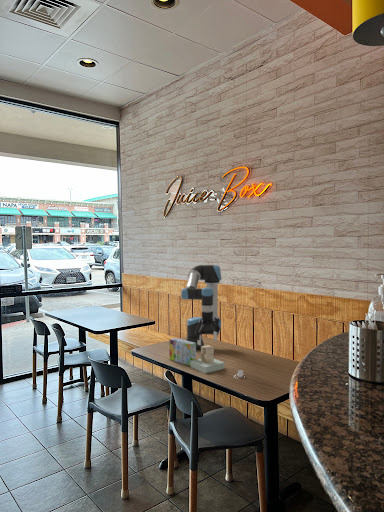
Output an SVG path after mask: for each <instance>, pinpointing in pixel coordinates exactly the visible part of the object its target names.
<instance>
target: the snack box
mask: <svg viewBox="0 0 384 512" xmlns="http://www.w3.org/2000/svg"><path fill="white" fill-rule="evenodd" d="M169 360H170V361H172V362H176V363H180V364H182V365H186V366H190V367H191V361H192V360H197V350H196V343H194V342H190V341H186V340H185V339H181V338H177V337H172V338H169Z"/></svg>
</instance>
